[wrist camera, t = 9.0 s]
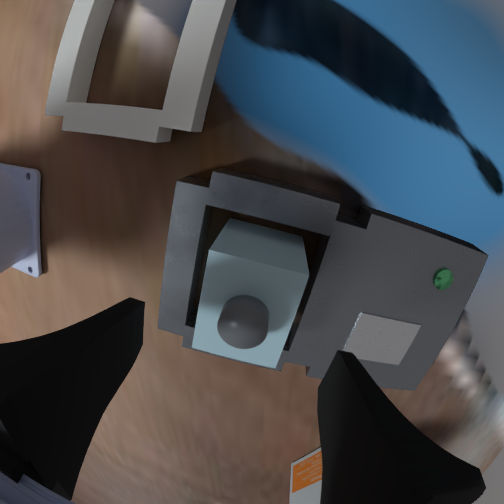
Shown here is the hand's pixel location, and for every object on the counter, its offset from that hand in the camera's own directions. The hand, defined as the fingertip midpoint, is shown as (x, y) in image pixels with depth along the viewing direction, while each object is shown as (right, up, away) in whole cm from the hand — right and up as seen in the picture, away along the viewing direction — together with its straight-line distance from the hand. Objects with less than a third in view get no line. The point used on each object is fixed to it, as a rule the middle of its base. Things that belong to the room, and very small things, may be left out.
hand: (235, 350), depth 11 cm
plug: (+1, +3, +7) cm, 7 cm away
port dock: (+5, +2, +7) cm, 8 cm away
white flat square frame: (-5, +15, +3) cm, 16 cm away
